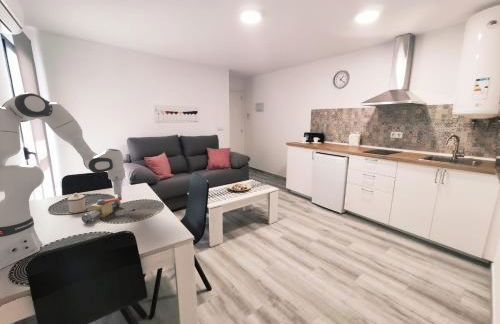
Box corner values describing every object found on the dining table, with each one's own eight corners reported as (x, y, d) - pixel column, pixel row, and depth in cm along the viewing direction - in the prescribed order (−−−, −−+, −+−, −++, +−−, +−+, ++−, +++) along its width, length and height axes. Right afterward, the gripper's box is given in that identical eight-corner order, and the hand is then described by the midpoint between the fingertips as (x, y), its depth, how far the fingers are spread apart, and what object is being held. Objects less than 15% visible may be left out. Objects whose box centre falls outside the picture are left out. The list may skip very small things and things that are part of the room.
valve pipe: (92, 223, 122) (90, 211, 121) (81, 223, 123) (79, 210, 122) (122, 207, 146) (120, 196, 144) (112, 206, 147) (111, 195, 145)
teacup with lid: (90, 208, 143) (87, 192, 140) (75, 214, 134) (72, 196, 132) (78, 206, 147) (75, 189, 145) (63, 211, 139) (59, 194, 136)
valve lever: (97, 204, 130) (95, 195, 129) (97, 202, 133) (96, 193, 132) (121, 200, 137) (120, 191, 136) (121, 198, 140) (120, 189, 139)
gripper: (122, 178, 125) (125, 201, 127) (123, 171, 142) (125, 191, 145) (109, 180, 122) (112, 203, 124) (111, 172, 139) (114, 192, 142)
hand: (119, 196), depth 135 cm, fingers closed
